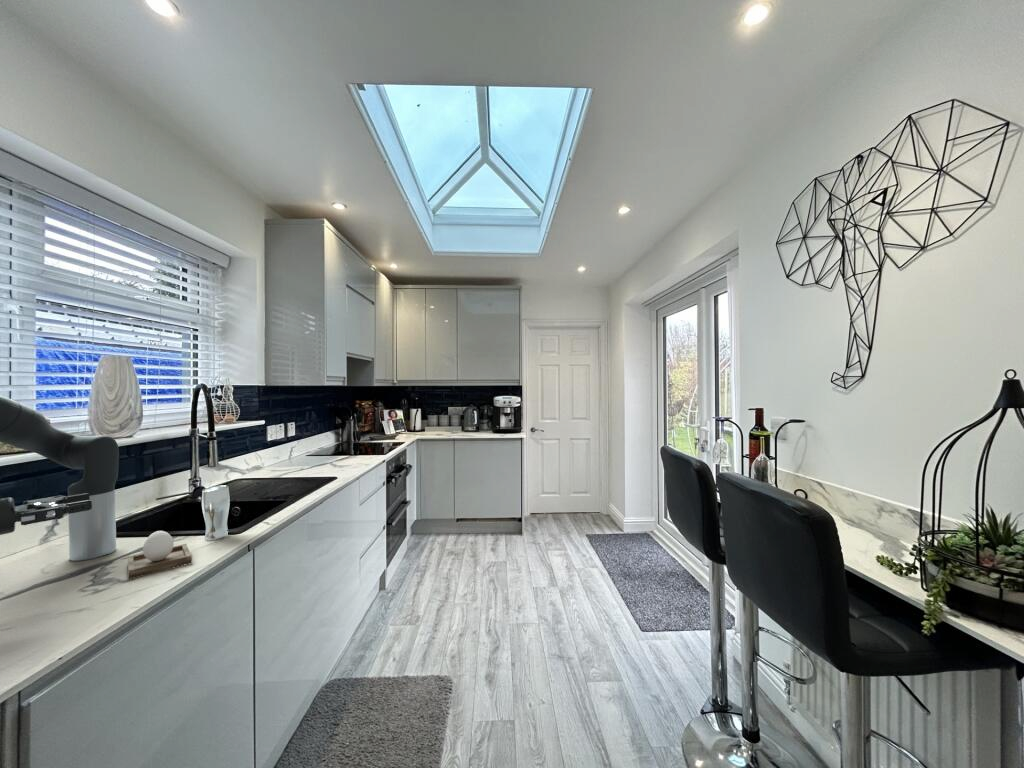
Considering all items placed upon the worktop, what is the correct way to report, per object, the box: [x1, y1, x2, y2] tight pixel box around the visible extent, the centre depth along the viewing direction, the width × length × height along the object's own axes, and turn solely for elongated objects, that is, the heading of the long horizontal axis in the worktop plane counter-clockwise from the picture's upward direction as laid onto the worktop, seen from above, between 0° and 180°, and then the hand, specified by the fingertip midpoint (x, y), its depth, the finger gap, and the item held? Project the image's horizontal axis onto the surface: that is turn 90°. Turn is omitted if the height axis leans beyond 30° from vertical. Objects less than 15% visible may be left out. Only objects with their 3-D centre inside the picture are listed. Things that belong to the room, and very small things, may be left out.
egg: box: [142, 530, 175, 561], centre depth 107 cm, size 6×6×8 cm
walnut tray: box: [127, 543, 192, 580], centre depth 107 cm, size 12×12×2 cm
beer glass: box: [201, 485, 231, 541], centre depth 126 cm, size 7×7×15 cm
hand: (90, 500), depth 97 cm, fingers open, 8 cm apart
